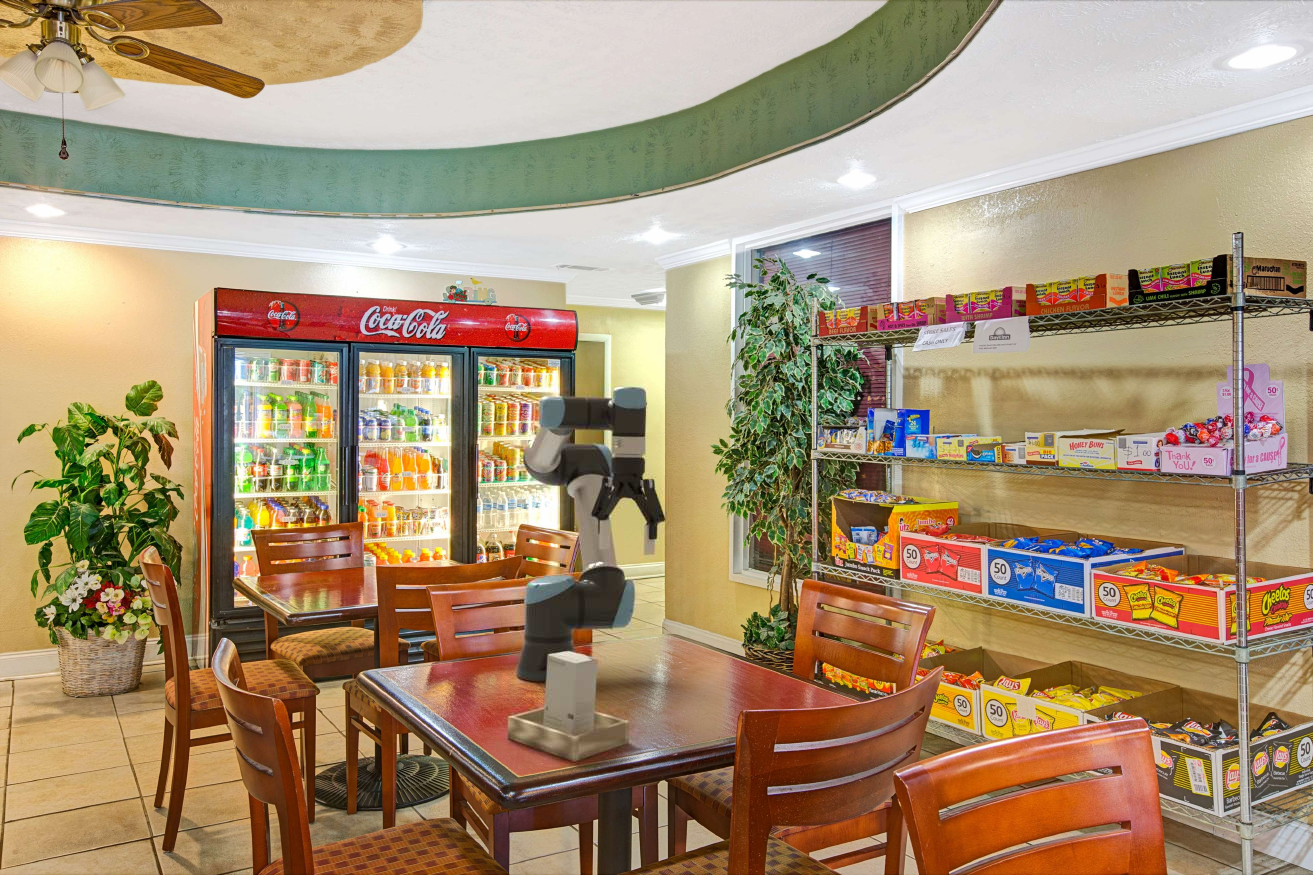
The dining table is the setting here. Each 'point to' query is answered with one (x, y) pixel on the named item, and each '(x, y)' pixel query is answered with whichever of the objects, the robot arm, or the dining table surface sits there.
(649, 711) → the dining table surface
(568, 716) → the skincare box
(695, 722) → the dining table surface
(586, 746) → the tray
